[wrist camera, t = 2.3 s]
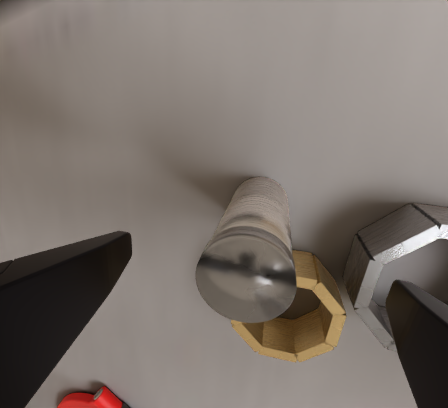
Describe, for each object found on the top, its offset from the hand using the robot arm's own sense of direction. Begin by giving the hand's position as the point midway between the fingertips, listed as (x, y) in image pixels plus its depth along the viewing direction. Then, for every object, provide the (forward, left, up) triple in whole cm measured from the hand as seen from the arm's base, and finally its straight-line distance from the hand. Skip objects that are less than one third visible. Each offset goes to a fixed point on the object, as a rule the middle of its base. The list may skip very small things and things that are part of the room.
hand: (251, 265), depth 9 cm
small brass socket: (-2, +5, -6) cm, 8 cm away
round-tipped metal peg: (0, 0, -6) cm, 6 cm away
